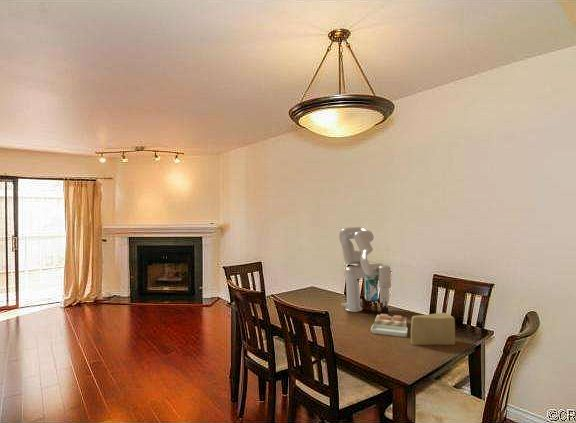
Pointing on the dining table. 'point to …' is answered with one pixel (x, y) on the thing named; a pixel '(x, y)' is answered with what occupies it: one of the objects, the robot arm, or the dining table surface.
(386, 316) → the tile
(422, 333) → the tan rounded block
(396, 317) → the tile
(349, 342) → the dining table surface
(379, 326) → the tray
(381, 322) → the white food package
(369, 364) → the dining table surface
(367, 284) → the milk carton
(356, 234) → the robot arm
